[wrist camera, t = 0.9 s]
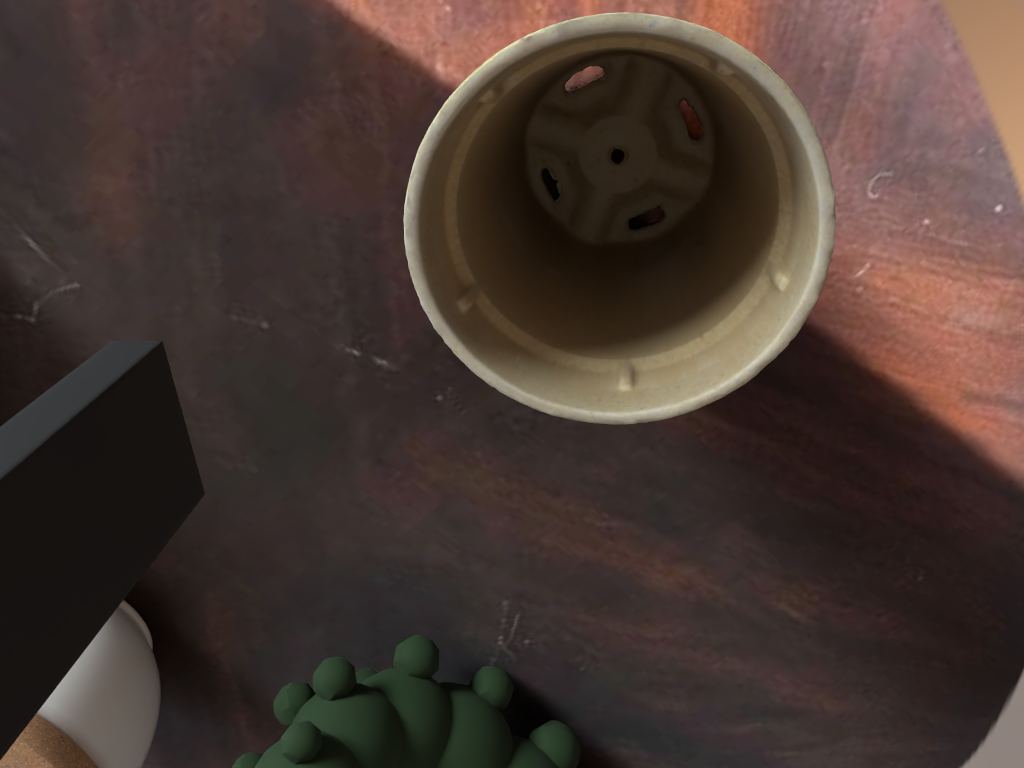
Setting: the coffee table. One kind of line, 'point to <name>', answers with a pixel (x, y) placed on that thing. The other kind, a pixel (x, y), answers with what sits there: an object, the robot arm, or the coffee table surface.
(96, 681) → the lidded bowl
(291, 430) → the coffee table surface
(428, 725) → the toy figurine
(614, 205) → the flower pot
